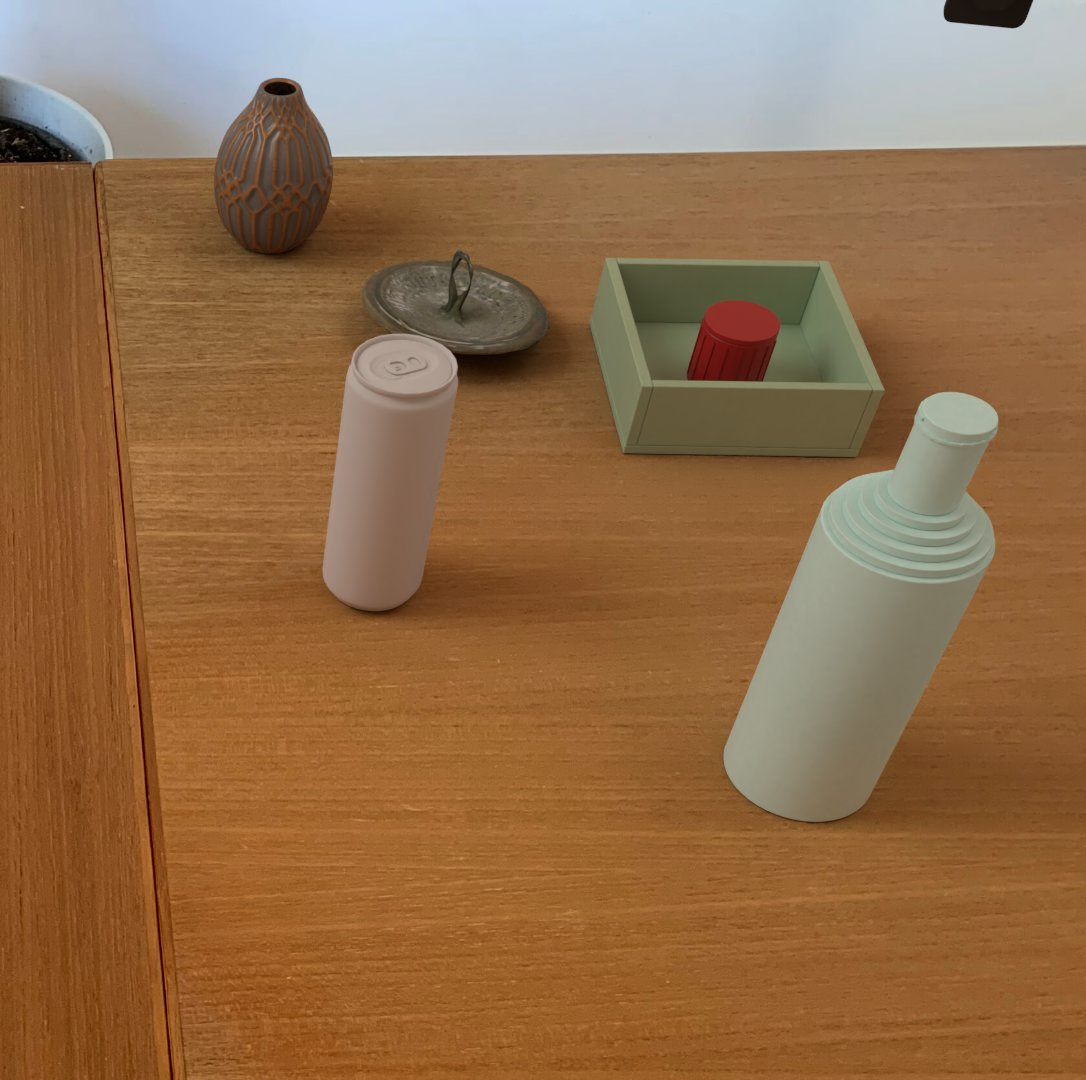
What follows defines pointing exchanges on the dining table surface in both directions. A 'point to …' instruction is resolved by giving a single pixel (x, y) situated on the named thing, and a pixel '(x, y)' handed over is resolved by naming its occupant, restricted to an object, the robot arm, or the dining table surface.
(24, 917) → the dining table surface
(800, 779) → the bottle
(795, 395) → the bin
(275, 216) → the vase
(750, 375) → the cap
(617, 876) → the dining table surface
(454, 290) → the lid
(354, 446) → the beverage can
